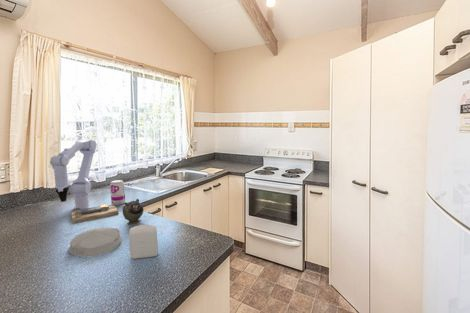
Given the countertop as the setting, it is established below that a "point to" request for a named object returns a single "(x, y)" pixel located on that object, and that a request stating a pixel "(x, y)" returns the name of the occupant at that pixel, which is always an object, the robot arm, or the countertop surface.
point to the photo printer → (143, 241)
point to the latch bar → (94, 208)
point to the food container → (95, 242)
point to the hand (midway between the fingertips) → (63, 201)
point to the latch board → (93, 214)
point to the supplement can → (117, 192)
